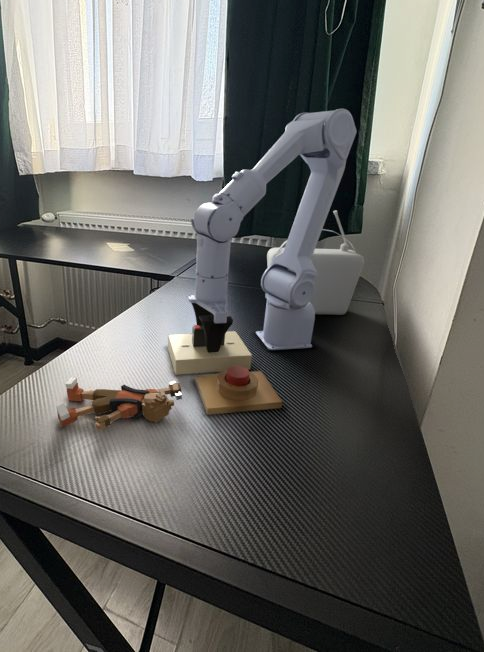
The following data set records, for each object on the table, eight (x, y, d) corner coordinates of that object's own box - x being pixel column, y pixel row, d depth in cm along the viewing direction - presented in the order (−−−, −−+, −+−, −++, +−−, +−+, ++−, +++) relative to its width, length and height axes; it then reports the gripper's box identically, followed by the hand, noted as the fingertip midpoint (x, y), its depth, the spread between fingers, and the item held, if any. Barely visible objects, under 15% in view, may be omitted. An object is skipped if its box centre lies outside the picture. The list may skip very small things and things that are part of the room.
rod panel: (234, 343, 78) (235, 329, 77) (250, 369, 69) (252, 354, 68) (167, 347, 76) (167, 333, 75) (175, 375, 67) (175, 359, 66)
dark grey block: (222, 341, 73) (223, 323, 71) (224, 345, 71) (225, 326, 70) (191, 343, 72) (192, 324, 70) (193, 347, 70) (194, 328, 69)
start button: (244, 374, 63) (245, 365, 62) (251, 386, 60) (252, 377, 59) (223, 375, 62) (224, 366, 62) (229, 388, 59) (230, 378, 58)
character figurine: (79, 365, 63) (184, 368, 59) (84, 390, 65) (187, 394, 61) (41, 410, 52) (167, 417, 48) (48, 439, 54) (171, 447, 50)
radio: (342, 304, 100) (361, 209, 91) (354, 317, 93) (376, 214, 83) (259, 301, 101) (270, 206, 92) (265, 314, 93) (277, 211, 84)
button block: (260, 376, 67) (262, 361, 66) (281, 408, 59) (284, 392, 58) (194, 381, 65) (195, 366, 64) (206, 415, 57) (208, 398, 56)
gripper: (182, 262, 72) (180, 326, 77) (198, 288, 59) (195, 363, 64) (218, 261, 73) (214, 324, 78) (241, 286, 60) (235, 360, 65)
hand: (208, 342), depth 71 cm, fingers open, 7 cm apart
